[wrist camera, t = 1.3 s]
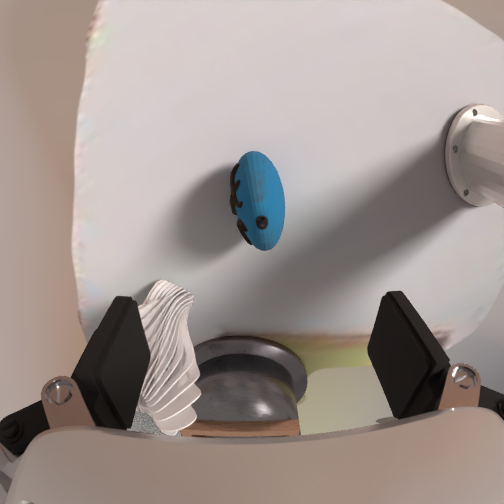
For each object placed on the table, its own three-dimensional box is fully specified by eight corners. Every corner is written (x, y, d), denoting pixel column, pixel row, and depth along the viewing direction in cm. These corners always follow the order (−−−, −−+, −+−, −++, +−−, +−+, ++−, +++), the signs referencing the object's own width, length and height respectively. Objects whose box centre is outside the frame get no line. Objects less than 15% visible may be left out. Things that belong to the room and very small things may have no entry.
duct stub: (314, 333, 37) (332, 405, 27) (298, 413, 45) (306, 471, 35) (166, 334, 37) (145, 404, 27) (187, 413, 45) (179, 470, 35)
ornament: (225, 151, 27) (213, 170, 18) (274, 143, 27) (287, 159, 18) (239, 231, 31) (236, 283, 22) (284, 224, 31) (300, 274, 22)
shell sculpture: (132, 308, 35) (79, 428, 19) (152, 257, 32) (87, 385, 16) (191, 336, 37) (166, 462, 21) (219, 289, 34) (201, 430, 18)
